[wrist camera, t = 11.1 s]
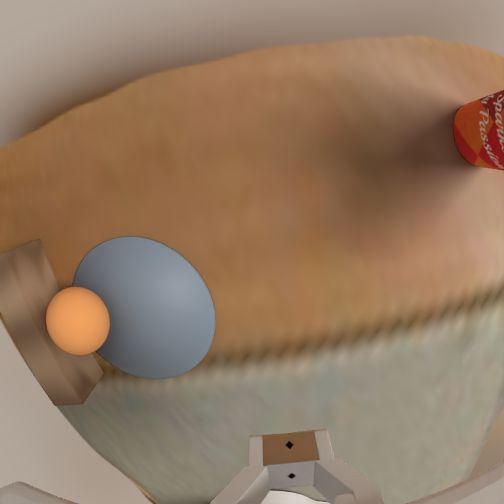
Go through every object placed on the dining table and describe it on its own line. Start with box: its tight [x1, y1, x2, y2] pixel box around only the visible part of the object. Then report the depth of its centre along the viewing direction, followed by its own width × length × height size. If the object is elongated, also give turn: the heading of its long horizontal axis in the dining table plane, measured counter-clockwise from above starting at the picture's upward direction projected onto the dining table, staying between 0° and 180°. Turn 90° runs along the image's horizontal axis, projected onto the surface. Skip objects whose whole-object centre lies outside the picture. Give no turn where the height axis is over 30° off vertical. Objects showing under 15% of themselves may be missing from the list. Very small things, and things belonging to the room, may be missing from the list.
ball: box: [46, 287, 110, 355], centre depth 21 cm, size 6×6×6 cm
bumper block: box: [0, 239, 104, 406], centre depth 22 cm, size 14×4×5 cm, turn 19°
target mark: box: [73, 236, 216, 379], centre depth 24 cm, size 13×13×1 cm
